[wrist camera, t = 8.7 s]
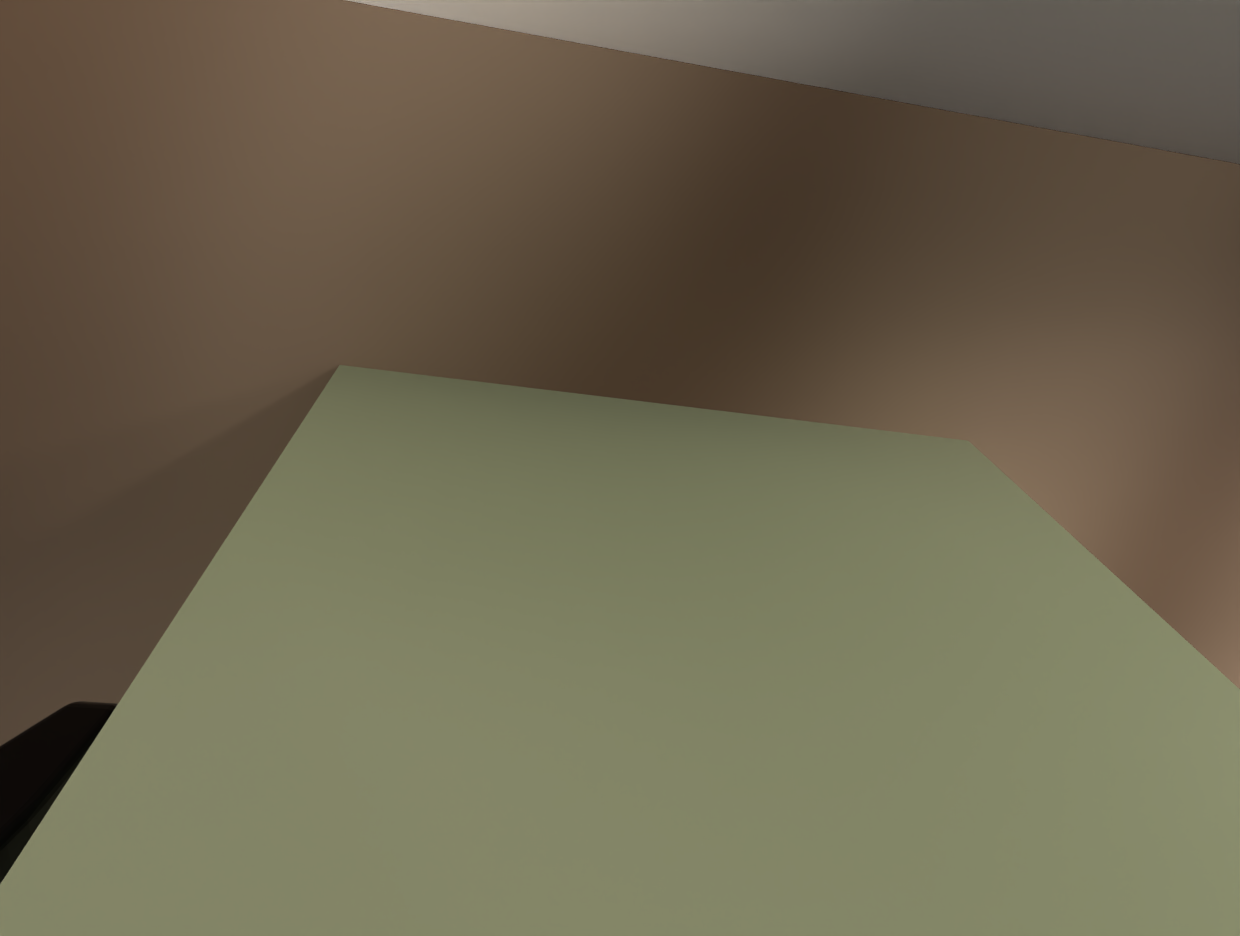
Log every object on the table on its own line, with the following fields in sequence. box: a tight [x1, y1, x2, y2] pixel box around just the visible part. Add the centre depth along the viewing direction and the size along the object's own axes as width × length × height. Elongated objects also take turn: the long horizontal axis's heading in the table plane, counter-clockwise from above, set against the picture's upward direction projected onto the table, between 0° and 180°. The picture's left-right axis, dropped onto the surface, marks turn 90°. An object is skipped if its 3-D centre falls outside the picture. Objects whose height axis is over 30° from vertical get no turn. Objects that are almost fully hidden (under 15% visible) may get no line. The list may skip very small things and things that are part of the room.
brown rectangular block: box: [0, 0, 1240, 746], centre depth 8 cm, size 16×12×7 cm
